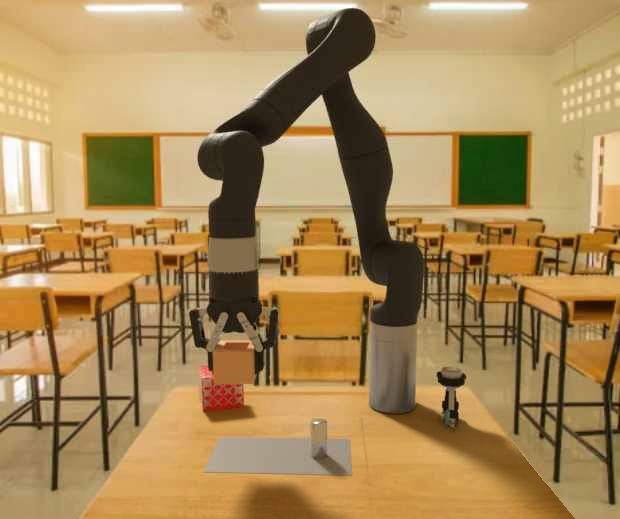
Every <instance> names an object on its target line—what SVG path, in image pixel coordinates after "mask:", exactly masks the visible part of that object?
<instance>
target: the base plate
mask: <svg viewBox="0 0 620 519" xmlns="http://www.w3.org/2000/svg"><path fill="white" fill-rule="evenodd" d="M351 456H352V455H351V439H350V438H327V457H326V458H324V459H314V458H312V457H311V437H310V438H309V437H308V438H306V437H304V438H303V437H263V436H260V437H259V436H219V437H218V439H217V442H216V443H215V446H214V448H213V450H212V452H211V454H210V457H209V459H208V461H207V463H206V465H205V467H204V469H203V473H214V474H215V473H218V474H220V473H222V474H223V473H224V474H225V473H226V474H260V475H261V474H262V475H263V474H264V475H306V476H307V475H309V476H347V477H349V476H350V477H351V476H353V473H352V457H351Z"/></svg>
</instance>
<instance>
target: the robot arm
mask: <svg viewBox="0 0 620 519" xmlns="http://www.w3.org/2000/svg"><path fill="white" fill-rule="evenodd" d="M376 37H377V36H376V30H375V25H374V23H373V20H372V19H371V17H370V16H369V14H367V13H366V12H365V11H364V10H362V9H360V8H356V7H348V8H343V9H340V10H337V11H334V12H332V13H330V14H327V15H324V16H322V17H320V18H317V19H315V20H314V21H312V22H311V23H310V24H309V26H307V29H306V34H305V48H306V52H307V55H306V56H305V57H304V58H303V59H301V60H300V61H299V62H298V63H296V64H295V65H293V66H292V67H289V69H287V70H285V71H283V73H281V74H280V75H279V76H276V77H275V78H274V79H273V80H272V81H270V82H269V83H268V84H267V85H266V86H265V87H264V88H263V89H262V90H260V91H259V92H258V93H257V94H256V95H255V96H254V98H252V99H251V100H250V102H249V103H247V105H245V107H244V108H242V110H240V111H239V112H238V113H236V114H234V115H233V116H232V117H230V118H228V119H227V120H226V121H224V122H223V123H221V124H220V125H219V126H217V127H216V128H214V129H213V130H212V131H211V132H210V133H209V134H207V135H206V137H205V138H204V139H203V140H202V142H201V144H200V145H199V148H198V151H197V156H196V157H197V158H196V159H197V165H198V168H199V170H200V171H201V173H202V174H204V176H206V177H208V178H209V179H211V180H214V181H221V184H222V185H221V189H220V193H219V196H218V197H216V198H214V199H213V200H211V201H210V202H209V205H208V209H207V210H208V211H207V212H208V214H207V217H208V247H207V268H208V270H207V272H208V291H209V302H208V305H207V306H203V307H199V306H194V307H193V308H192V309H191V310H190V311H189V312H188V316H189V322H190V326H191V327H190V328H191V333H192V338H193V344H194V346H195V348H197V349H204V350H205V351H206V353H207V365H208V369H209V371H212V375H213V350H214V349H215V348H216V346H217V345H218V343H219V342H220V341H221V337H222V335H223V334H231V333H238V334H244V333H245V334H246V336H247V338H248V341H251V342H252V344H253V346H254V348H255V352H254V356H255V375H257V376H258V375H259V376H260V374H261V372H263V370H264V368H265V366H266V362H265V361H266V360H265V358H266V357H265V354H266V353H265V350H267V349H269V348H270V349H271V348H274V346H275V344H276V342H277V335H278V328H279V317H280V312H281V311H280V310H281V309H280V307H279V306H276V305H275V306H273V307H269V306H263V305H262V302H261V300H260V285H259V284H260V282H259V281H260V280H259V250H258V244H257V226H256V207H257V203H258V198H259V196H260V190H261V186H262V180H263V176H264V170H265V155H264V151H263V147H267V146H270V145H272V144H275V143H276V142H277V141H279V139H281V137H283V135H284V134H285V133H286V132H287V131H288V130H289V129H290V128H291V127H292V125H294V123H295V122H296V121H297V120H298V119H299V118H300V117H301V116H302V115H303V114H304V113H305V111H306V110H307V109H308V108H309V107H310V106H311V105H312V104H314V102H315V101H316V100H317V99H319V98H320V97H321V98H322V100H323V103H324V106H325V108H326V109H325V110H326V112H327V116H328V120H329V123H330V127H331V129H332V133H333V136H334V141H335V145H336V149H337V154H338V158H339V162H340V163H339V164H340V165H341V170H342V174H343V177H344V178H343V179H344V181H345V184H346V187H347V188H346V189H347V192H348V197H349V200H350V204H351V209H352V212H353V218H354V222H355V227H356V232H357V241H358V246H359V247H358V248H359V254H360V261H361V265H362V268H363V271H364V274H365V276H366V277H367V279H368V280H369V281H370V282H372V283H373V284H376V285H379V286H383V287H386V290H385V298H384V301H382V302H380V303H379V302H378V303H376V304H374V305H372V307H371V308H370V310H369V311H370V313H369V323H370V324H369V369H368V371H369V373H368V375H369V377H368V378H369V380H368V381H369V384H368V405H369V407H370V408H372V409H373V410H376V411H377V412H378V411H379V412H380V413H381V412H382V413H384V414H385V413H387V414H404V413H409V412H411V411H413V410H414V409H415V408H416V389H417V387H416V384H417V355H418V354H417V353H418V352H417V350H418V349H417V348H418V346H417V345H418V344H417V343H418V316H419V312H420V310H421V307H422V303H423V290H424V278H425V261H424V255H423V251H422V250H421V249H420V247H419V246H418V245H417V244H416V243H414V242H411V241H405V240H398V239H396V240H394V239H392V236H391V232H390V229H389V226H388V220H387V210H386V209H387V203H388V198H389V196H390V192H391V189H392V183H393V179H394V177H393V176H394V168H393V162H392V158H391V154H390V149H389V148H390V147H389V143H388V140H387V137H386V134H385V132H384V131H383V129H382V128H381V127H380V124H378V122H377V121H376V120H375V118H374V117H373V116H372V115H371V114H370V112H369V111H368V110H367V109H366V107H365V106H364V105H363V104H362V102H361V101H360V100H359V98H358V96H357V94H356V91H355V89H354V87H353V84H352V79H351V76H350V73H349V72H350V71H351V72H352V70H353V69H355V68H356V67H358V66H359V65H360V64H362V63H363V62H364V61H366V60H368V58H369V57H370V56H371V54H372V53H373V51H374V48H375V45H376V41H377V40H376V39H377V38H376ZM261 314H262V315H263V316H264V320H265V322H267V323H268V328H267V329H268V330H267V337H266V338H263V337H262V335H261V333H260V329H259V327H258V326H257V324H256V322H257V320H258V319H259V317H260V316H261ZM206 315H208V316H209V318H210V319H211V321H213V324H215V326H214V328H213V331H212V332H211V335H210V338H209V339H208V338H206V333H205V327H204V321H205V320H206Z"/></svg>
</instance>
